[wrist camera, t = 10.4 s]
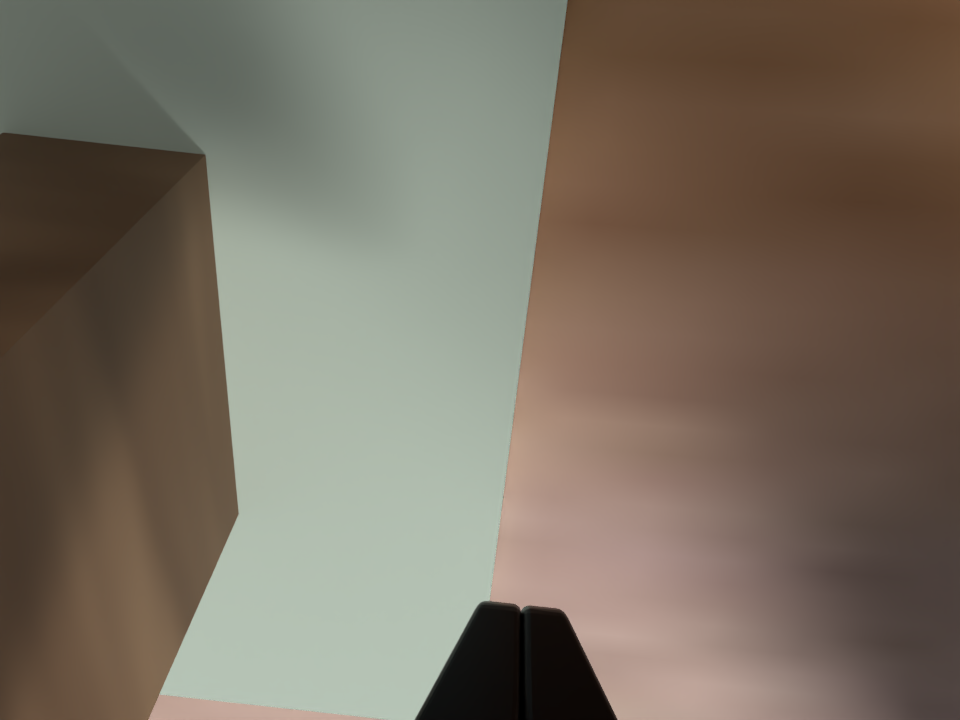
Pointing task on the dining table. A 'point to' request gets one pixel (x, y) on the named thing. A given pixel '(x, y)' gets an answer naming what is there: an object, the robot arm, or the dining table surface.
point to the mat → (334, 302)
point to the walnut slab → (106, 423)
